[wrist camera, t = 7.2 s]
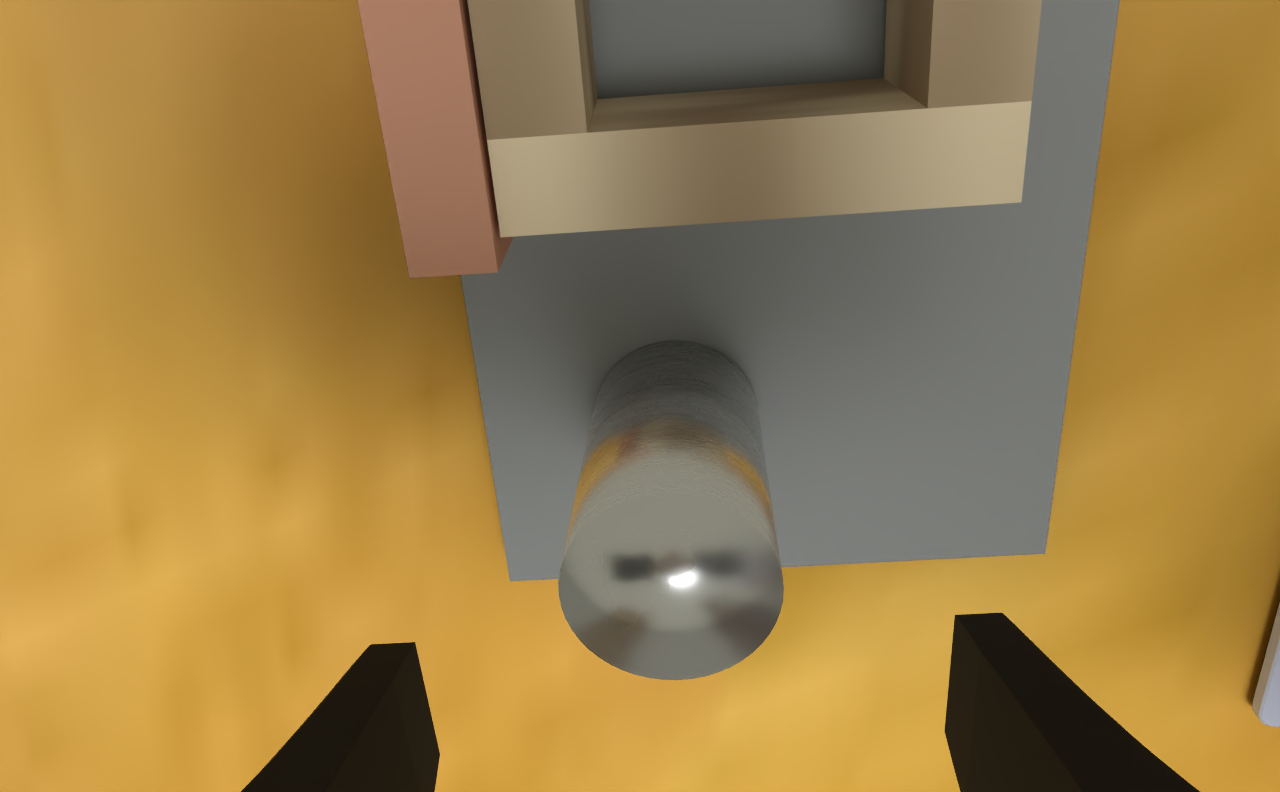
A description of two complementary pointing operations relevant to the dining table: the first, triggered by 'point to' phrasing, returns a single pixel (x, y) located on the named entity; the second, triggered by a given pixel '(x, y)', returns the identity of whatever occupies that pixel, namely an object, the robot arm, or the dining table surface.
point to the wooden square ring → (754, 126)
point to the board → (769, 286)
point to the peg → (673, 518)
